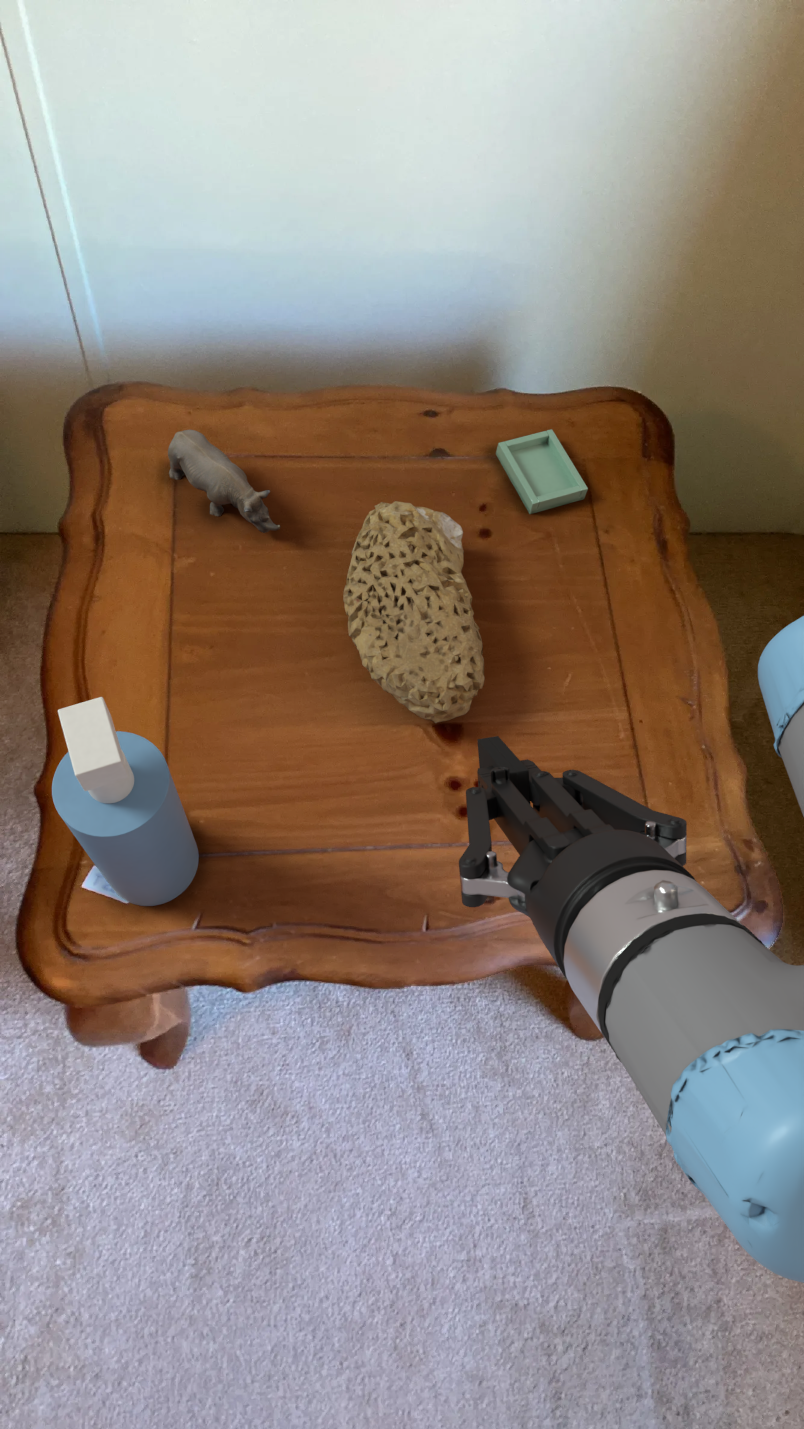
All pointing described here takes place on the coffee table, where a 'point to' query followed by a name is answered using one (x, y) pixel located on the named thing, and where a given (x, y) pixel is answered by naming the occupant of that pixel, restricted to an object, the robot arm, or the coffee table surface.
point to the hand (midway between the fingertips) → (489, 755)
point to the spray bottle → (123, 807)
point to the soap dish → (541, 471)
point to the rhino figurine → (217, 478)
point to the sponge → (414, 610)
